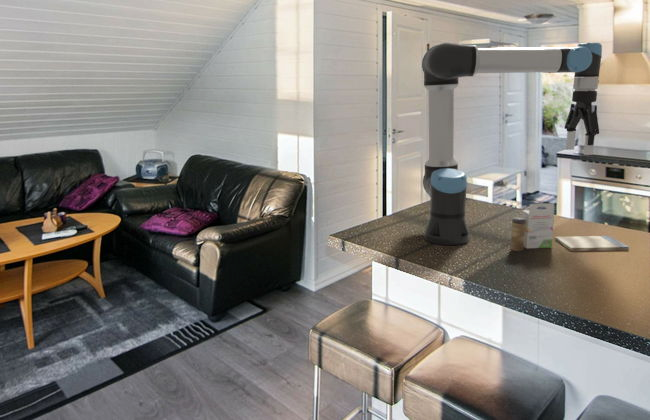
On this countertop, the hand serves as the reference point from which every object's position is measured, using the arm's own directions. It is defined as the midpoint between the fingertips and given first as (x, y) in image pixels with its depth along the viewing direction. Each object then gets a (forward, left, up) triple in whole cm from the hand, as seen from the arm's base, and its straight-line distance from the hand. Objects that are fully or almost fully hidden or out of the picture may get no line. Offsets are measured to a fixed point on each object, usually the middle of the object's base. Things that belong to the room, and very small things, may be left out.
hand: (578, 152), depth 182 cm
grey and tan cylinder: (-28, -24, -27) cm, 46 cm away
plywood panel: (-3, -21, -27) cm, 34 cm away
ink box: (-21, -21, -28) cm, 41 cm away
